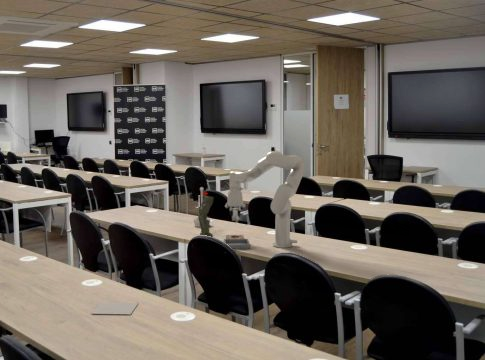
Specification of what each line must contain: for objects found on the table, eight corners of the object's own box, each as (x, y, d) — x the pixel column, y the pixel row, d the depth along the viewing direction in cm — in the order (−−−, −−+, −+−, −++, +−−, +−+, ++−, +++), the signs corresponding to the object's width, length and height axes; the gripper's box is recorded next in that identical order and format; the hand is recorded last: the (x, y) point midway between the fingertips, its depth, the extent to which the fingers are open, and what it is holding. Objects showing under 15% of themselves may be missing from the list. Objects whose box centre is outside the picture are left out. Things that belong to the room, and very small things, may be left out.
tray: (247, 243, 347) (247, 238, 346) (249, 249, 331) (249, 244, 330) (223, 243, 346) (223, 239, 345) (224, 249, 330) (224, 244, 329)
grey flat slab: (124, 324, 210) (124, 323, 210) (63, 323, 211) (63, 321, 211) (138, 304, 233) (138, 302, 233) (83, 303, 234) (83, 301, 234)
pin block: (243, 238, 361) (243, 234, 361) (244, 242, 349) (244, 238, 349) (226, 238, 361) (226, 234, 360) (226, 242, 349) (226, 238, 348)
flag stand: (196, 227, 396) (195, 188, 392) (191, 224, 408) (191, 186, 404) (212, 226, 400) (212, 187, 397) (207, 223, 412) (207, 185, 409)
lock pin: (238, 219, 355) (238, 208, 354) (238, 220, 351) (238, 209, 350) (231, 219, 355) (231, 208, 354) (232, 221, 351) (232, 209, 350)
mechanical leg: (200, 239, 355) (206, 195, 357) (192, 237, 359) (198, 194, 361) (213, 240, 366) (219, 197, 368) (205, 238, 370) (211, 196, 372)
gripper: (247, 188, 355) (247, 215, 357) (222, 189, 354) (222, 215, 356) (248, 190, 347) (248, 217, 349) (222, 190, 346) (222, 217, 348)
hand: (235, 216), depth 353 cm, fingers closed on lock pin, 4 cm apart
